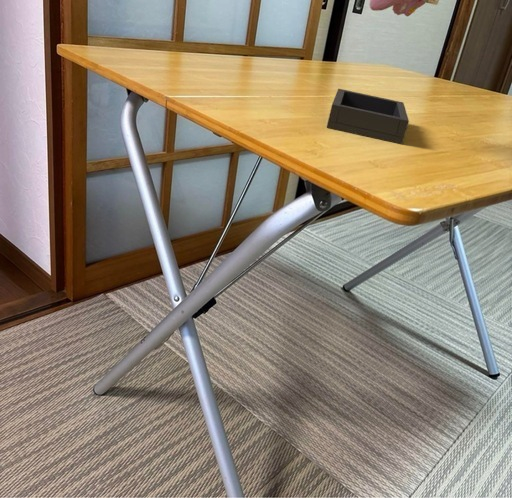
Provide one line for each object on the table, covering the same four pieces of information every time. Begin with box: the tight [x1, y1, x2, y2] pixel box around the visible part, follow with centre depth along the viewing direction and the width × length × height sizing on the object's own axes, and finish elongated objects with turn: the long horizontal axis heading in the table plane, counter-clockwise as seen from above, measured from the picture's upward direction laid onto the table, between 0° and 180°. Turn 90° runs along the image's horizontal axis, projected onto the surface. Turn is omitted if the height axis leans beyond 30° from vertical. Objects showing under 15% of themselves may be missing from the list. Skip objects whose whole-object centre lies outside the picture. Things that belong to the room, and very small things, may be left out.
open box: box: [326, 88, 410, 145], centre depth 83 cm, size 11×15×4 cm
